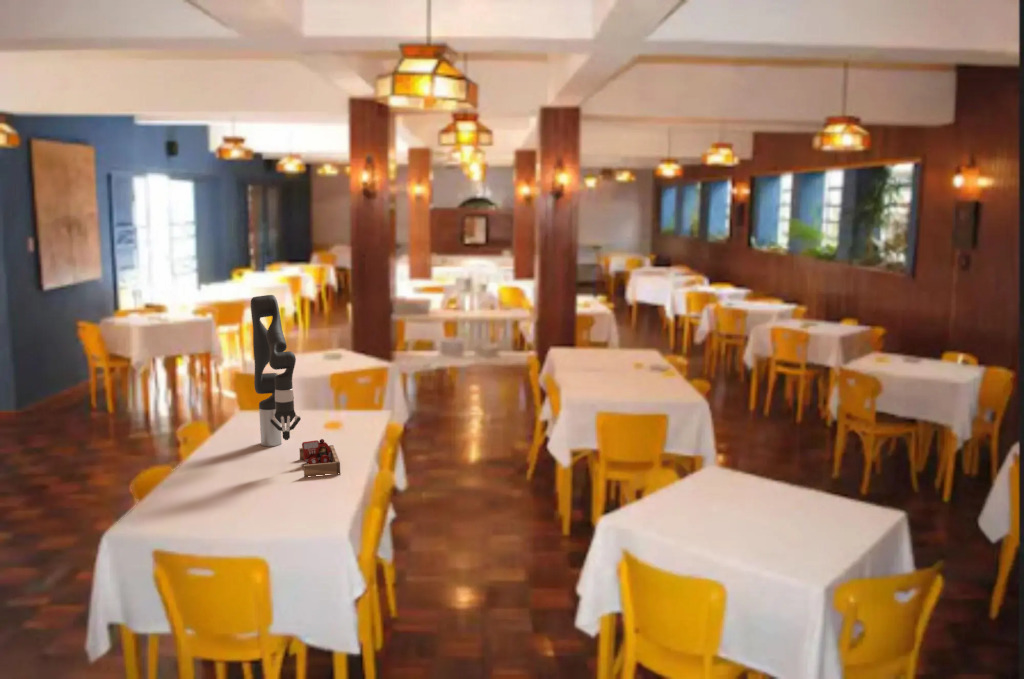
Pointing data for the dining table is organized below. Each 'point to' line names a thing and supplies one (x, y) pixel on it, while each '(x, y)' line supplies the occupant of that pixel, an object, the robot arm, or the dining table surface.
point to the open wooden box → (322, 465)
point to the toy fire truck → (316, 452)
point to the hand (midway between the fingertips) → (286, 439)
